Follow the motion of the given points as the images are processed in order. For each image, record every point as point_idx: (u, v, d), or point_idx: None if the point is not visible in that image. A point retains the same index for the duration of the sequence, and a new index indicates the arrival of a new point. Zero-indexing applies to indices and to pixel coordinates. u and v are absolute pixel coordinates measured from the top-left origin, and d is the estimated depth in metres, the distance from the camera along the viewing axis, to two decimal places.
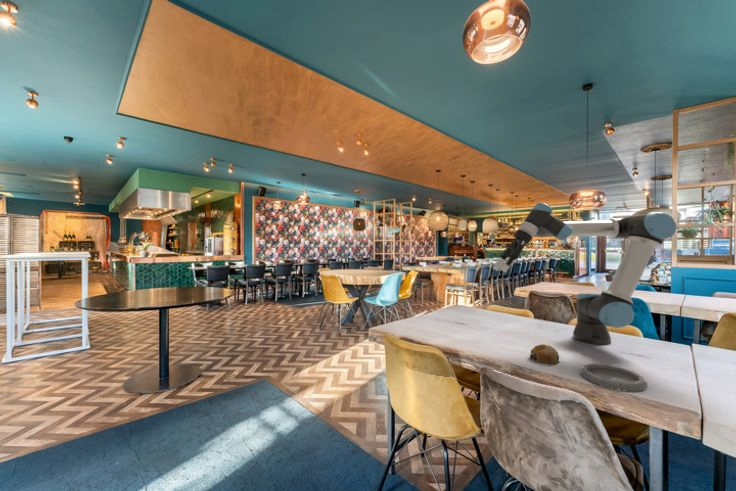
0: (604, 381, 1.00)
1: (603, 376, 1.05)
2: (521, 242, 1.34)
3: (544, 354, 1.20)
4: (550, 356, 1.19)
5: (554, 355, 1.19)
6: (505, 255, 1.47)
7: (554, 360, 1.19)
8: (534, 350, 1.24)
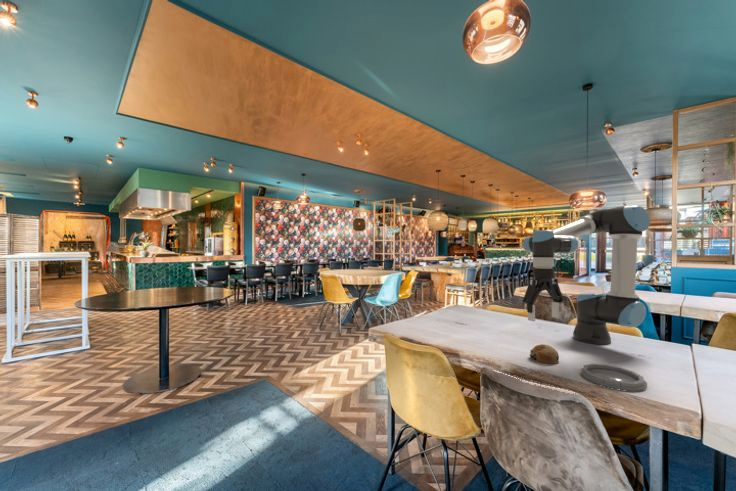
0: (604, 381, 1.00)
1: (603, 376, 1.05)
2: (529, 283, 1.22)
3: (544, 354, 1.20)
4: (550, 356, 1.19)
5: (554, 355, 1.19)
6: (553, 297, 1.26)
7: (554, 360, 1.19)
8: (534, 350, 1.24)
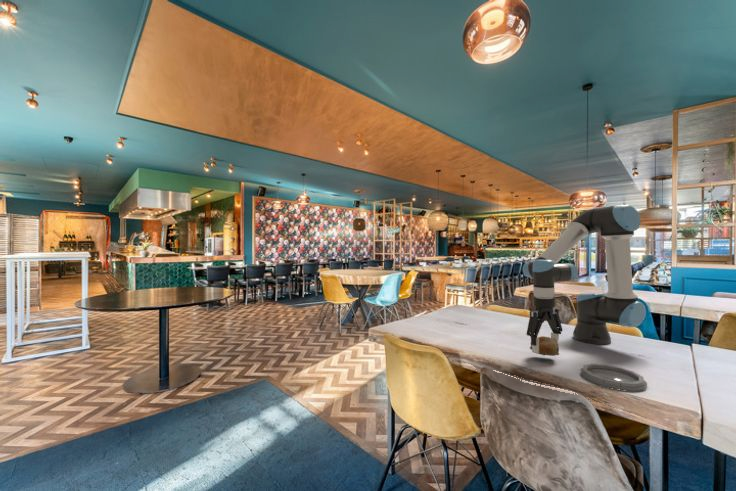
0: (604, 381, 1.00)
1: (603, 376, 1.05)
2: (530, 314, 1.22)
3: (544, 346, 1.20)
4: (550, 348, 1.19)
5: (554, 347, 1.20)
6: (552, 328, 1.26)
7: (554, 352, 1.19)
8: None
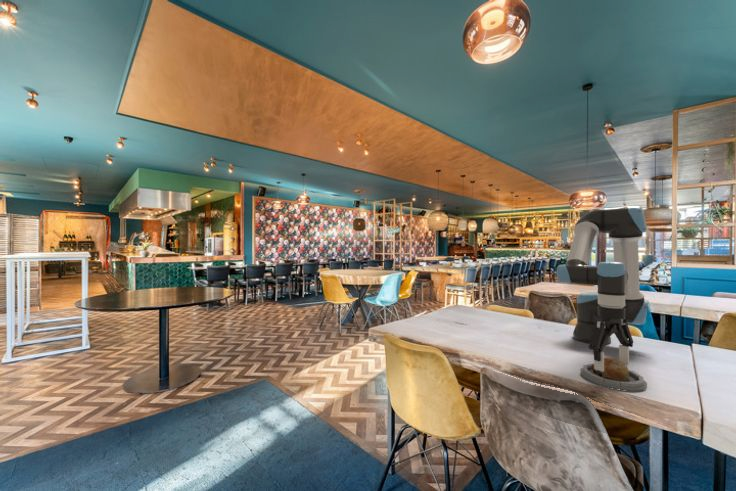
0: (604, 381, 1.00)
1: None
2: (596, 325, 1.03)
3: (613, 370, 1.01)
4: (621, 372, 1.00)
5: (625, 371, 1.01)
6: (621, 340, 1.07)
7: (625, 377, 1.00)
8: None
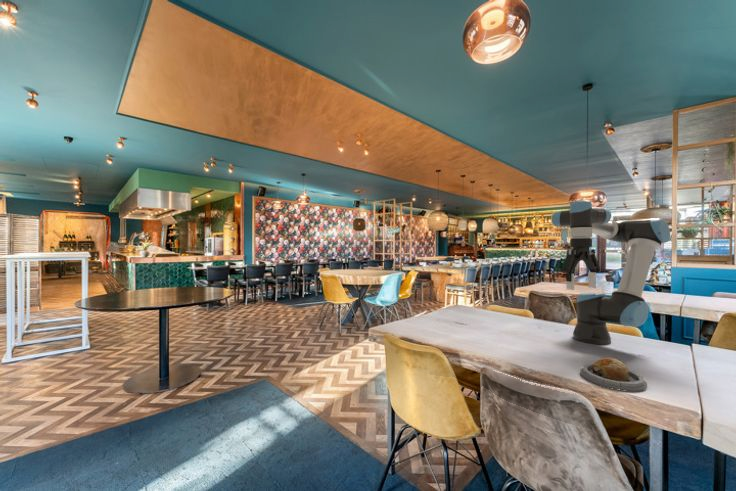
0: (604, 381, 1.00)
1: None
2: (568, 252, 1.24)
3: (613, 370, 1.01)
4: (621, 372, 1.00)
5: (625, 371, 1.01)
6: (590, 267, 1.29)
7: (625, 377, 1.00)
8: (598, 365, 1.05)
